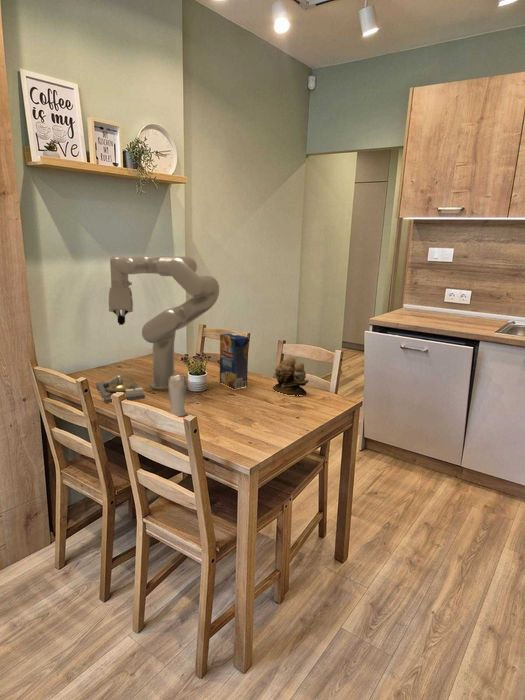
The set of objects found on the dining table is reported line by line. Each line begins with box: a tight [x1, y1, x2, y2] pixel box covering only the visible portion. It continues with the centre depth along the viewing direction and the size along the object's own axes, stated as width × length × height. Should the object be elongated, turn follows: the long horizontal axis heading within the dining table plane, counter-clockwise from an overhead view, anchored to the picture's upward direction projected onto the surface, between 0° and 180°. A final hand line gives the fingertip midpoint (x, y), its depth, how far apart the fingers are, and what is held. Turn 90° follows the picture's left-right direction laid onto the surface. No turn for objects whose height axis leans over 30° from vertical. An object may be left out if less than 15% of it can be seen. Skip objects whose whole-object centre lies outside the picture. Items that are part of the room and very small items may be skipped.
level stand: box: [95, 378, 146, 403], centre depth 195 cm, size 16×24×4 cm, turn 28°
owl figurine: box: [272, 356, 310, 397], centre depth 202 cm, size 18×12×17 cm, turn 53°
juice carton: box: [219, 332, 249, 389], centre depth 206 cm, size 12×8×24 cm, turn 39°
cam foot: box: [103, 374, 134, 393], centre depth 192 cm, size 18×12×6 cm
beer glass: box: [167, 374, 188, 418], centre depth 171 cm, size 7×7×15 cm
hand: (121, 324), depth 205 cm, fingers closed
